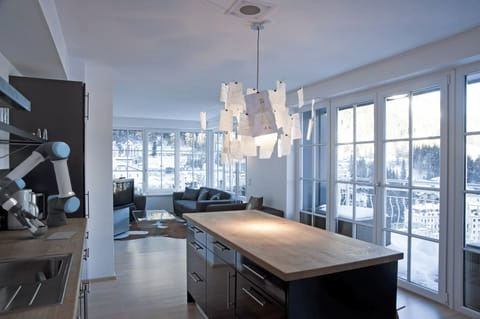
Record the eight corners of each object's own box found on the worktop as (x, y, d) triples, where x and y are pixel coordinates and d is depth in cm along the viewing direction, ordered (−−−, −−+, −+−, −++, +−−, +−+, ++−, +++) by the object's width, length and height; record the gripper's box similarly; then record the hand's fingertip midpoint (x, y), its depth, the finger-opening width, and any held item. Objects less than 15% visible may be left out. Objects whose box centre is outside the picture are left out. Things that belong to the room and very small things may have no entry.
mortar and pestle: (50, 235, 220) (50, 217, 220) (41, 239, 211) (40, 220, 211) (34, 235, 221) (34, 217, 221) (24, 238, 212) (24, 220, 211)
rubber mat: (54, 233, 227) (54, 232, 227) (75, 232, 231) (75, 231, 231) (45, 240, 208) (45, 239, 208) (68, 238, 211) (68, 238, 211)
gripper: (15, 208, 223) (40, 229, 227) (-1, 214, 199) (27, 237, 203) (24, 200, 225) (49, 221, 228) (9, 205, 200) (37, 228, 204)
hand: (39, 228), depth 216 cm, fingers open, 13 cm apart
